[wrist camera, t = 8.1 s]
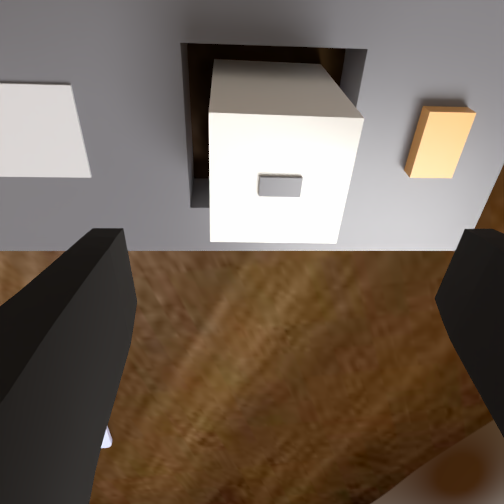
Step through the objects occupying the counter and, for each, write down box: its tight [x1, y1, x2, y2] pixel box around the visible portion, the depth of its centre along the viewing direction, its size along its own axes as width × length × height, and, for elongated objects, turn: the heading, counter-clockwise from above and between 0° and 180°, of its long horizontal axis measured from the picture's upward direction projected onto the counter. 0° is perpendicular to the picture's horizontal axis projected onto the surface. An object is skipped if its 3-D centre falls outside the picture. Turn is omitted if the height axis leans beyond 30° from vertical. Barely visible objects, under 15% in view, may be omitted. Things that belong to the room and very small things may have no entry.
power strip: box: [0, 0, 504, 251], centre depth 14 cm, size 31×10×3 cm, turn 88°
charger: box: [209, 59, 364, 243], centre depth 14 cm, size 4×4×6 cm
